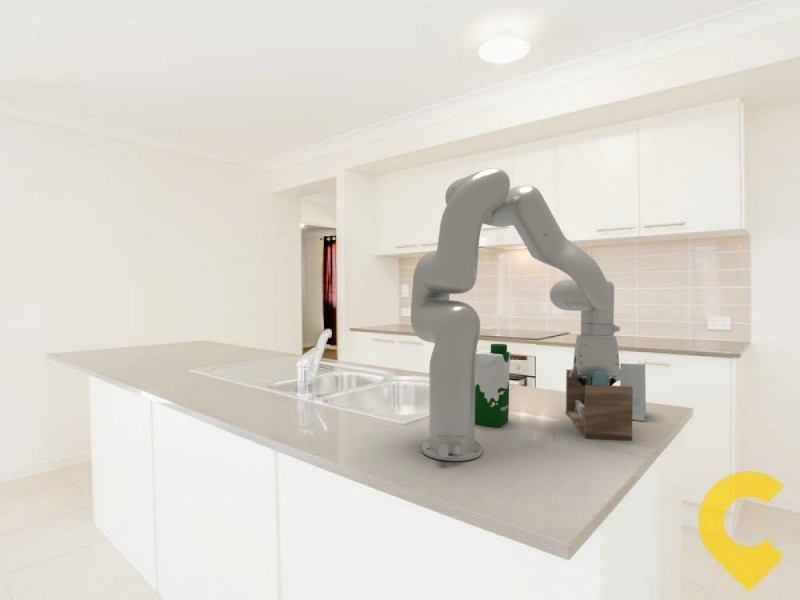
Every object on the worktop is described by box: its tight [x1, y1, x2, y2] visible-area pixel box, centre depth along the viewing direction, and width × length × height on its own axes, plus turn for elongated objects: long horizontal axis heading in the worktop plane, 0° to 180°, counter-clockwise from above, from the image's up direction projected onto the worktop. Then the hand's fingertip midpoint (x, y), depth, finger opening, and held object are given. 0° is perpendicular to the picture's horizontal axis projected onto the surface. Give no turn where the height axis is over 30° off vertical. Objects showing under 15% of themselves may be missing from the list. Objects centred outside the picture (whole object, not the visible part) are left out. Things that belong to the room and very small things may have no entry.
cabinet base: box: [565, 369, 633, 441], centre depth 119 cm, size 22×10×12 cm, turn 172°
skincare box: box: [619, 359, 647, 422], centre depth 128 cm, size 8×6×15 cm
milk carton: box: [475, 343, 511, 428], centre depth 122 cm, size 9×9×20 cm
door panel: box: [590, 370, 607, 386], centre depth 119 cm, size 10×3×12 cm, turn 172°
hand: (595, 403), depth 119 cm, fingers closed on door panel, 2 cm apart
